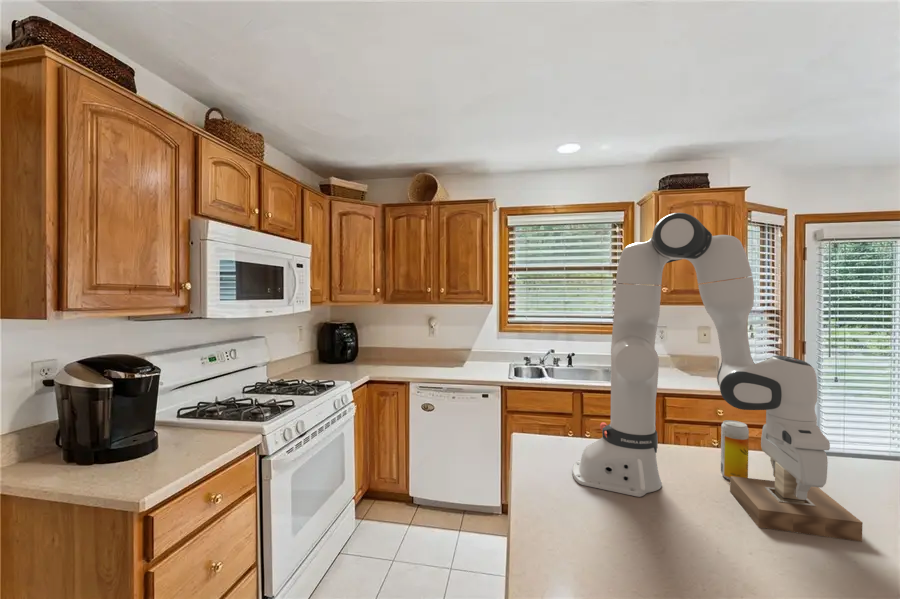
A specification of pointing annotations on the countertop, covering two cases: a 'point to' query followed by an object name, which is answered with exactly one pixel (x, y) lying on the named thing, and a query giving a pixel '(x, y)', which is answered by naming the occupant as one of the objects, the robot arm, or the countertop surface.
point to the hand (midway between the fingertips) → (789, 487)
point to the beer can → (734, 449)
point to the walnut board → (795, 510)
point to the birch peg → (785, 485)
